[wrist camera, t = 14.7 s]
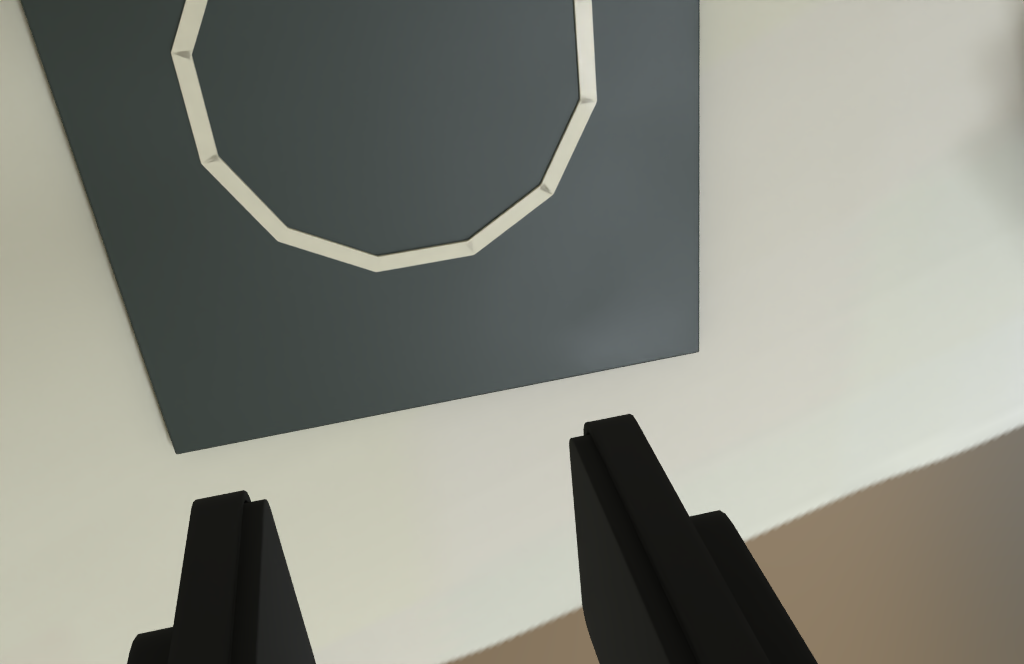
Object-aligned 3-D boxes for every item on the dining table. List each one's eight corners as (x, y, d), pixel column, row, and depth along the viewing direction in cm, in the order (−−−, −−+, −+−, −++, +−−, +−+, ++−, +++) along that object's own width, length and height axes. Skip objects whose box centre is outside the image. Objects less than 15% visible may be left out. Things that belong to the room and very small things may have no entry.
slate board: (-101, -376, 20) (-113, -382, 20) (691, -441, 23) (702, -447, 22) (177, 444, 31) (175, 457, 31) (693, 344, 33) (700, 354, 33)
